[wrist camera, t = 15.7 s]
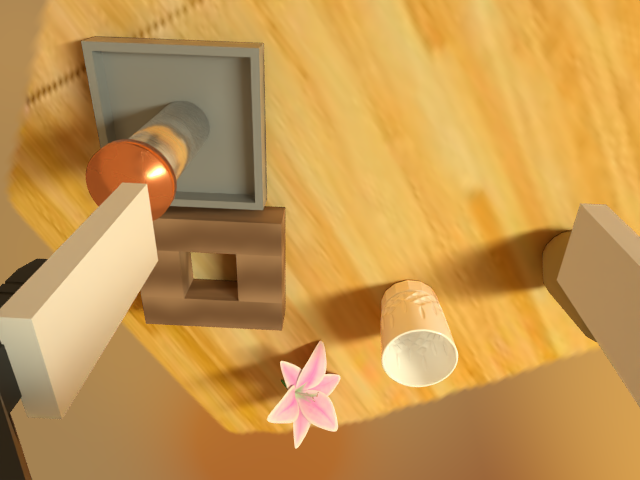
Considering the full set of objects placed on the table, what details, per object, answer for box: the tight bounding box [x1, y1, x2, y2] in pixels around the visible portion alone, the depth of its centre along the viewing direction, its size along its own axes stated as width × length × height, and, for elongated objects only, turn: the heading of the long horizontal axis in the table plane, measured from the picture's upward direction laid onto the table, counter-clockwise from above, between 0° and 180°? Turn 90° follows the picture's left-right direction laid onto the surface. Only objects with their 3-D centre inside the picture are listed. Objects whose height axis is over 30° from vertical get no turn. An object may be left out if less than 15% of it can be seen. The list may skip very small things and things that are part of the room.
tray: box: [81, 36, 267, 210], centre depth 51 cm, size 16×16×3 cm
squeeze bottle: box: [542, 231, 597, 342], centre depth 50 cm, size 8×8×18 cm
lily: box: [267, 341, 341, 448], centre depth 65 cm, size 12×12×10 cm
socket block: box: [140, 206, 285, 330], centre depth 58 cm, size 14×16×4 cm
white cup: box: [381, 280, 458, 387], centre depth 58 cm, size 8×8×10 cm
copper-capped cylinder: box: [86, 101, 210, 221], centre depth 45 cm, size 6×6×15 cm
